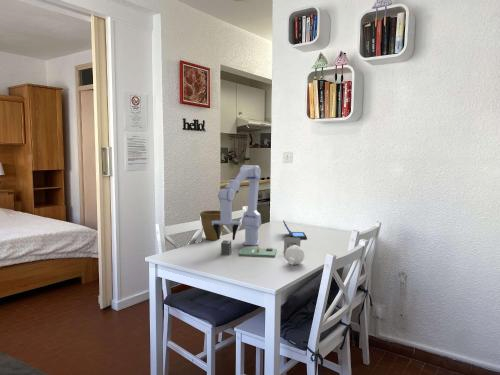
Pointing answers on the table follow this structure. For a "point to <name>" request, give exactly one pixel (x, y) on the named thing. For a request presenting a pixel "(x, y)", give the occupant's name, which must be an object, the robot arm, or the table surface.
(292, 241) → the electrical switch
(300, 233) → the handheld game console
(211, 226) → the plant pot
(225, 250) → the plug
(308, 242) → the table surface
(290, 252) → the perfume bottle
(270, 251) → the pcb
